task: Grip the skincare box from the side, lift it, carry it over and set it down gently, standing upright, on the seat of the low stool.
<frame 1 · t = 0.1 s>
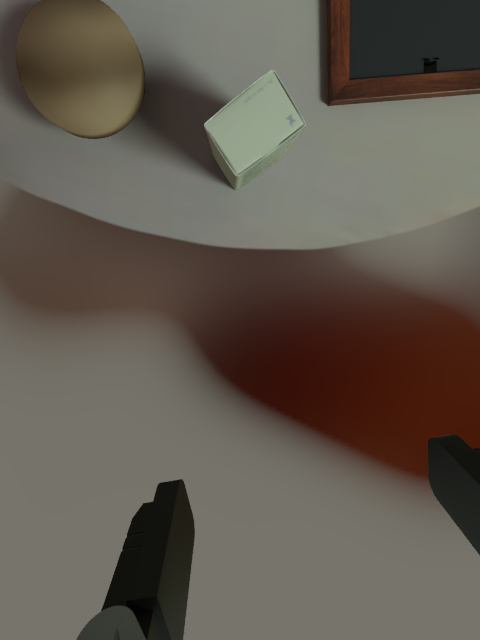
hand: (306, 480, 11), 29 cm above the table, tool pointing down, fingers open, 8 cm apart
stool: (105, 94, 33), on the table
skincare box: (247, 158, 35), on the table
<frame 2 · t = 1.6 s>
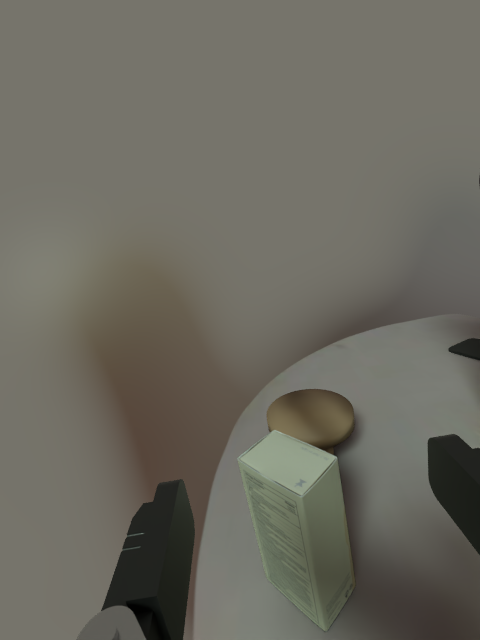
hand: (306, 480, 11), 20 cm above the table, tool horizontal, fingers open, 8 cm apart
stool: (314, 453, 41), on the table
skincare box: (307, 583, 27), on the table
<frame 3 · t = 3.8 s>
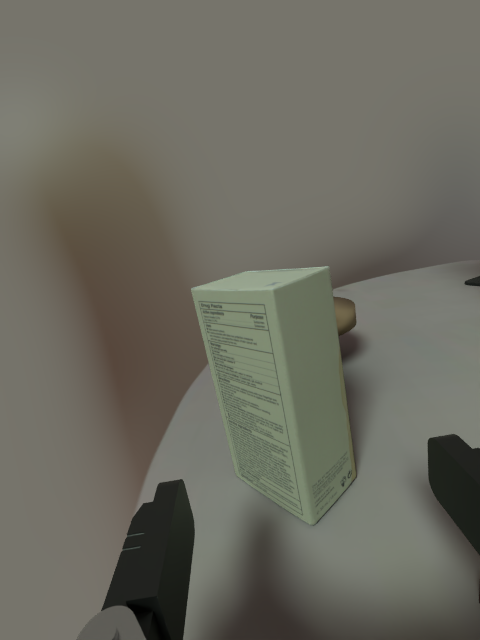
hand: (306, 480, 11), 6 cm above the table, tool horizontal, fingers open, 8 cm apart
stool: (307, 366, 34), on the table
skincare box: (291, 480, 20), on the table
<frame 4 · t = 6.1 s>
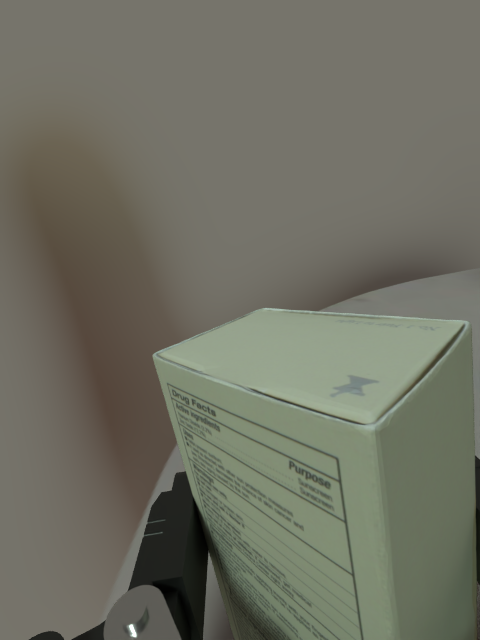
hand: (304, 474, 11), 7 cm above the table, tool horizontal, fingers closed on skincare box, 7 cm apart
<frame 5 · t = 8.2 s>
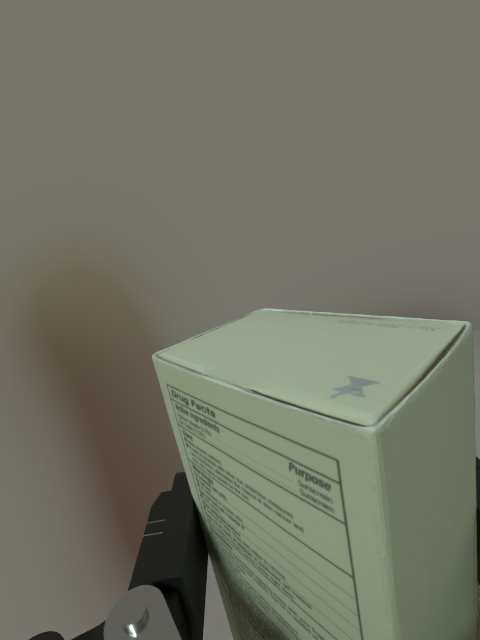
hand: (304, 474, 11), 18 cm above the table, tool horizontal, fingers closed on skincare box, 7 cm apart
when the fingers open (14 cm above the table, at t = 10.5 s): skincare box drops 1 cm, resting on stool.
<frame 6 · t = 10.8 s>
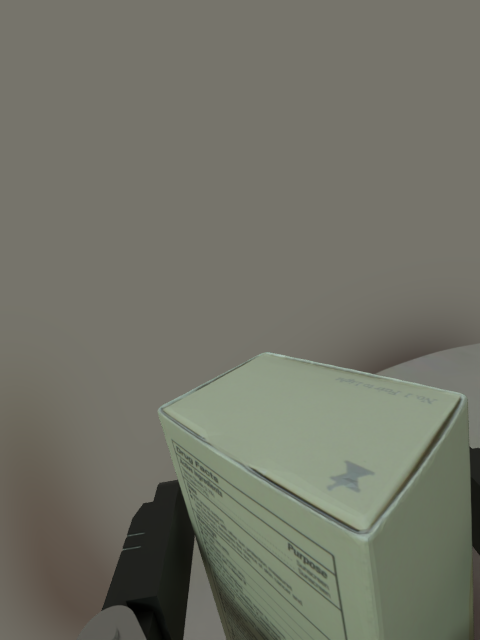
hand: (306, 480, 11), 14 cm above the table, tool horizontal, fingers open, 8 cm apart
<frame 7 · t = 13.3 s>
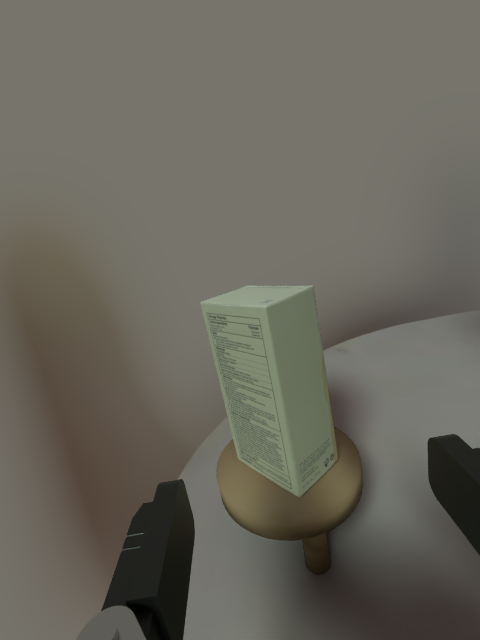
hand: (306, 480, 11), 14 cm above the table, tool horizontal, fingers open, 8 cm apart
stool: (296, 524, 25), on the table
skincare box: (284, 462, 24), point 6 cm above the table, touching stool
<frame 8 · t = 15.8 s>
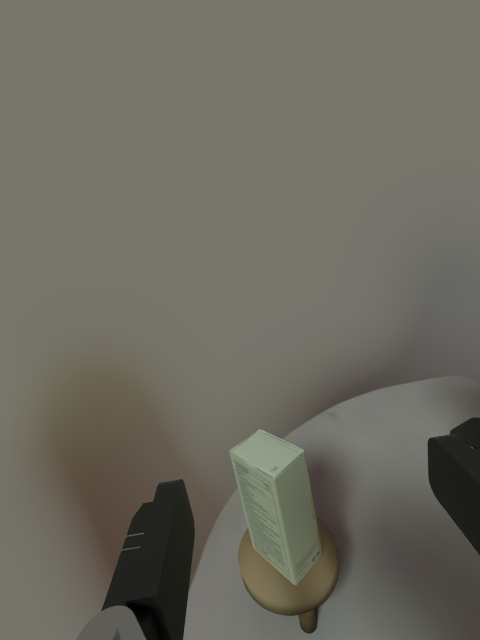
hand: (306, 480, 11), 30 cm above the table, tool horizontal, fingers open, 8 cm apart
stool: (294, 591, 36), on the table
skincare box: (285, 552, 34), point 6 cm above the table, touching stool
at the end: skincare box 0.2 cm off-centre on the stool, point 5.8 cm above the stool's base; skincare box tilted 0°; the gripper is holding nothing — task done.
